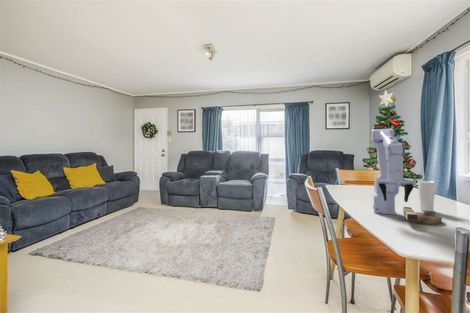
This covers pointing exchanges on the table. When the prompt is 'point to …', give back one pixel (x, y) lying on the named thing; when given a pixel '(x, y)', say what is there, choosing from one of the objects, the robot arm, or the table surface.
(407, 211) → the folding leg
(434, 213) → the stool seat
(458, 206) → the table surface
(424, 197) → the drinking glass
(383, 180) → the robot arm
